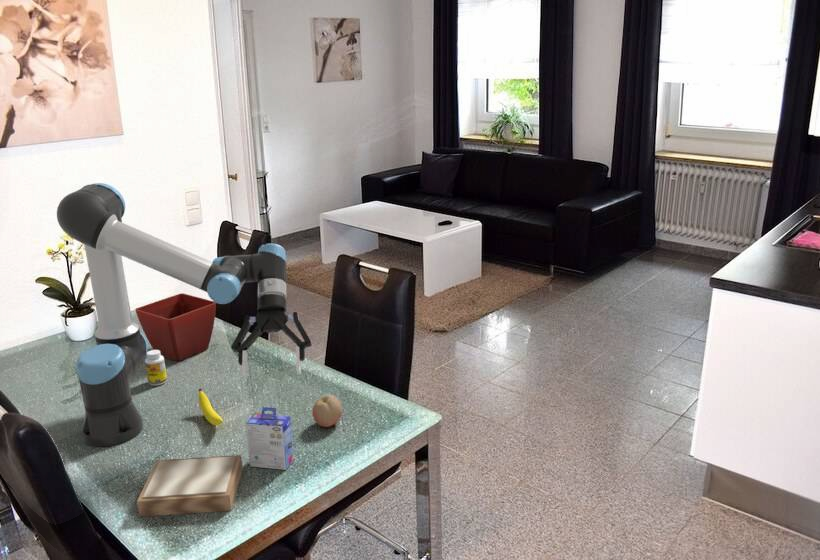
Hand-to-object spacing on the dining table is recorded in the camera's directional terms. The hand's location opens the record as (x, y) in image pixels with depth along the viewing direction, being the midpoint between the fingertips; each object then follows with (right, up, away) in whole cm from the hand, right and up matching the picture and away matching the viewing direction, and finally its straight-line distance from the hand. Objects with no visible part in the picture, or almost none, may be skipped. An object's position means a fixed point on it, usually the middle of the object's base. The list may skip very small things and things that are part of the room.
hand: (271, 374), depth 176 cm
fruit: (+13, -15, +13) cm, 24 cm away
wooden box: (-15, -25, -15) cm, 33 cm away
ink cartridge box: (+1, -21, -4) cm, 22 cm away
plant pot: (-43, -1, +62) cm, 75 cm away
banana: (-19, -15, +16) cm, 29 cm away
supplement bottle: (-43, -8, +40) cm, 59 cm away
